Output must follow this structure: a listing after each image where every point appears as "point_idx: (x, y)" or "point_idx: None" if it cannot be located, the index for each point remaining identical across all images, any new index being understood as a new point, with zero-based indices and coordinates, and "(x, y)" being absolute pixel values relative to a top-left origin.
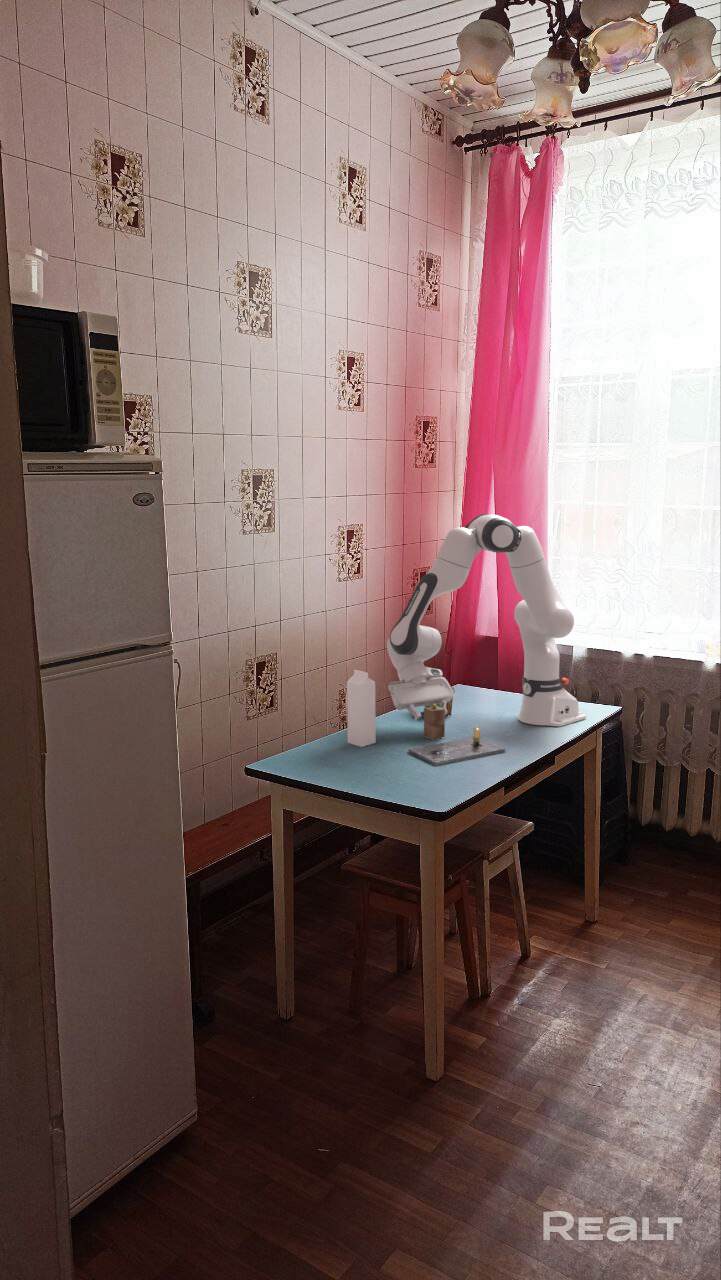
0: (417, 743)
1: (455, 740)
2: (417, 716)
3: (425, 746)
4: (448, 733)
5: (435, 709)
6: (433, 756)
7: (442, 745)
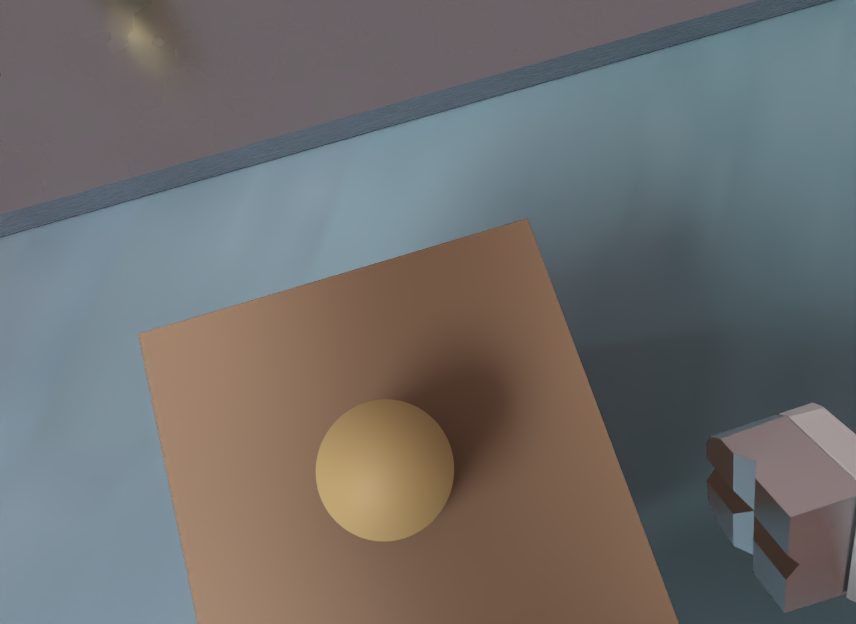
0: (690, 271)
1: (251, 140)
2: (820, 413)
3: (658, 14)
4: (174, 603)
5: (397, 347)
6: None
7: (461, 8)
